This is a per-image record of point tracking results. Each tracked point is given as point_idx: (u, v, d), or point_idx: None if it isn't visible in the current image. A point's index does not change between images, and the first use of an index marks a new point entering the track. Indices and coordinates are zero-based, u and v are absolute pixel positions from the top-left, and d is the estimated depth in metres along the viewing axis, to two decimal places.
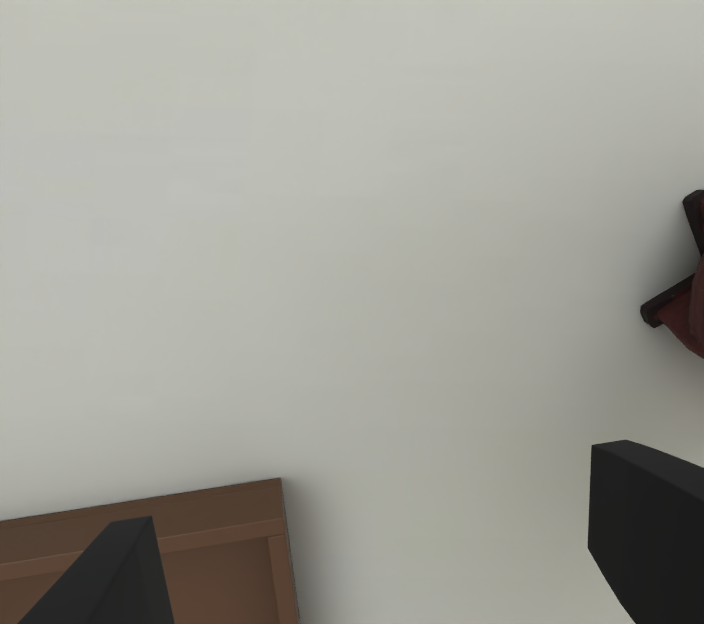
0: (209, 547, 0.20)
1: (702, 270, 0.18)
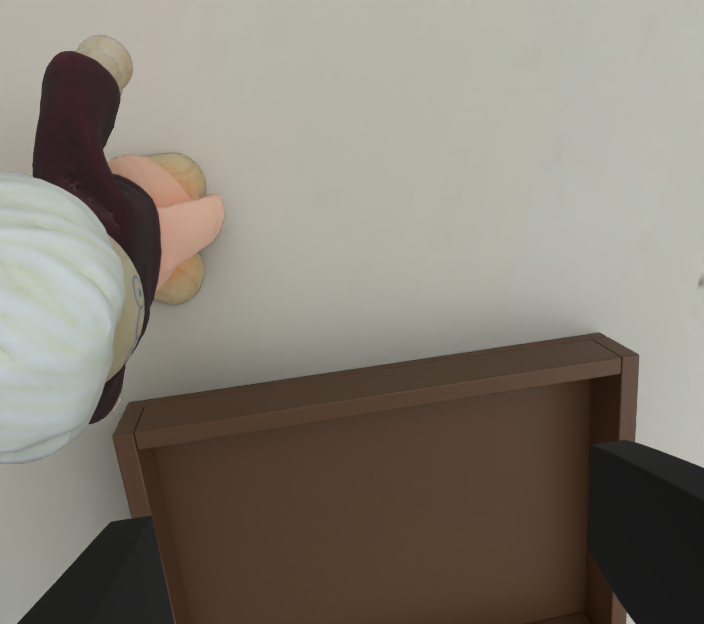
0: (553, 574, 0.23)
1: None
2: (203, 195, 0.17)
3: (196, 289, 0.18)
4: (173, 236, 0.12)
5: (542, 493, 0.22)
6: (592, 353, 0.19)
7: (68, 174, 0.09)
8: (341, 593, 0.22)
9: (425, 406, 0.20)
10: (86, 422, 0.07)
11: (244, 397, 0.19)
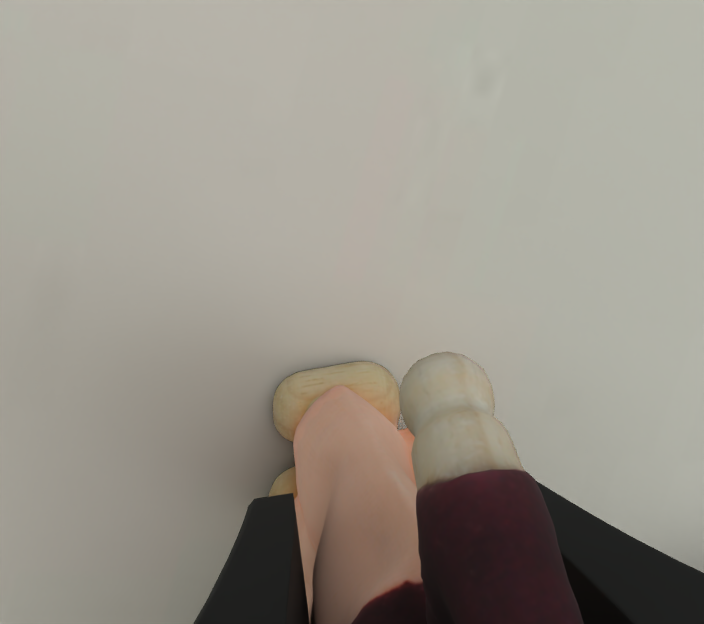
0: None
1: None
2: (399, 415, 0.13)
3: None
4: None
5: None
6: None
7: None
8: None
9: None
10: None
11: None
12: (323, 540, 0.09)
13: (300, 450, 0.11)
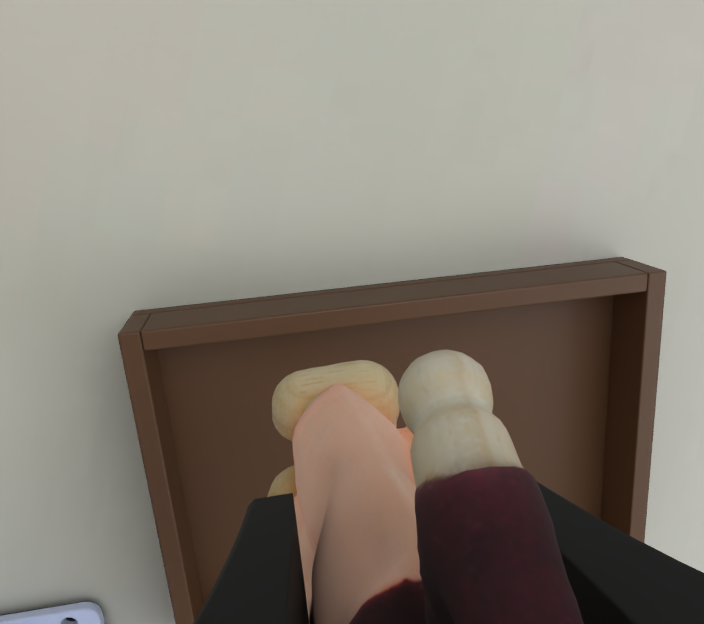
0: None
1: None
2: (398, 413, 0.13)
3: None
4: None
5: (559, 425, 0.21)
6: (617, 270, 0.19)
7: None
8: None
9: (441, 326, 0.19)
10: None
11: (255, 305, 0.18)
12: (322, 539, 0.09)
13: (299, 449, 0.11)
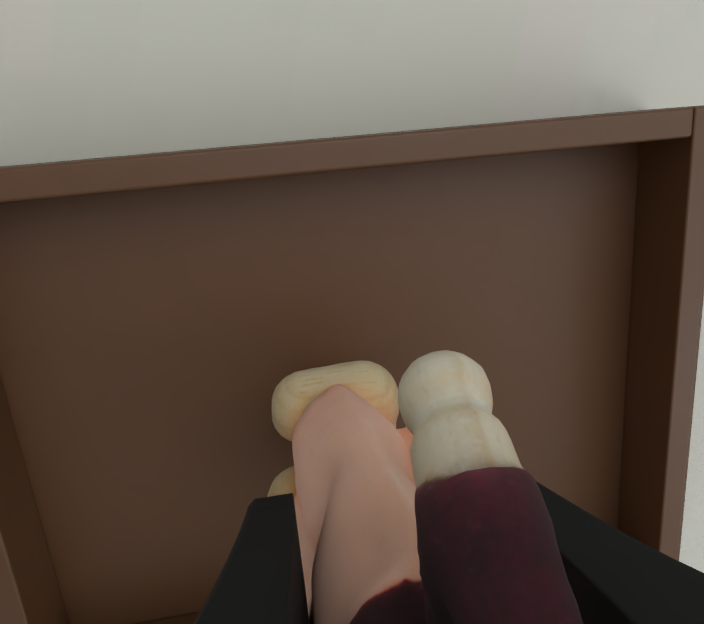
0: (574, 480, 0.16)
1: None
2: (398, 414, 0.13)
3: None
4: None
5: (562, 355, 0.15)
6: (646, 110, 0.12)
7: None
8: None
9: (391, 204, 0.13)
10: None
11: None
12: (322, 539, 0.09)
13: (299, 450, 0.11)
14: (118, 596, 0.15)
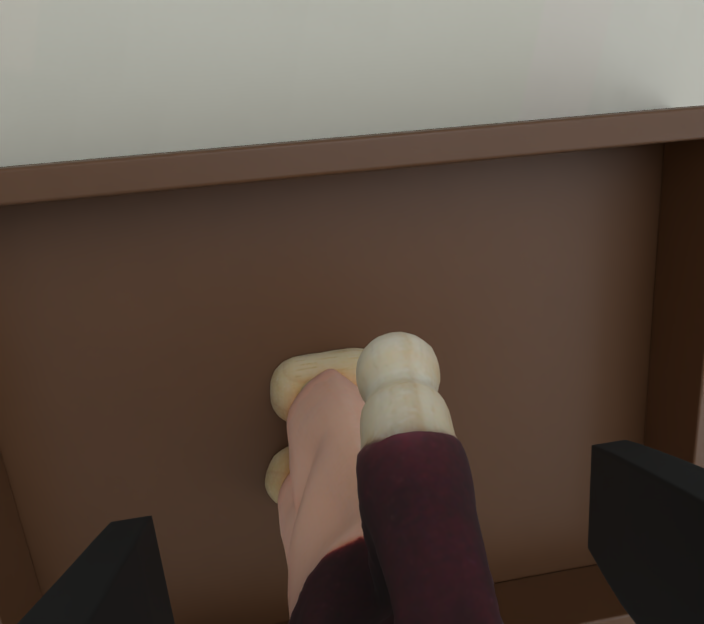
0: None
1: None
2: None
3: None
4: None
5: (579, 368, 0.14)
6: (674, 108, 0.12)
7: None
8: (270, 517, 0.14)
9: (399, 209, 0.13)
10: None
11: (89, 159, 0.11)
12: (300, 506, 0.09)
13: (290, 428, 0.12)
14: None
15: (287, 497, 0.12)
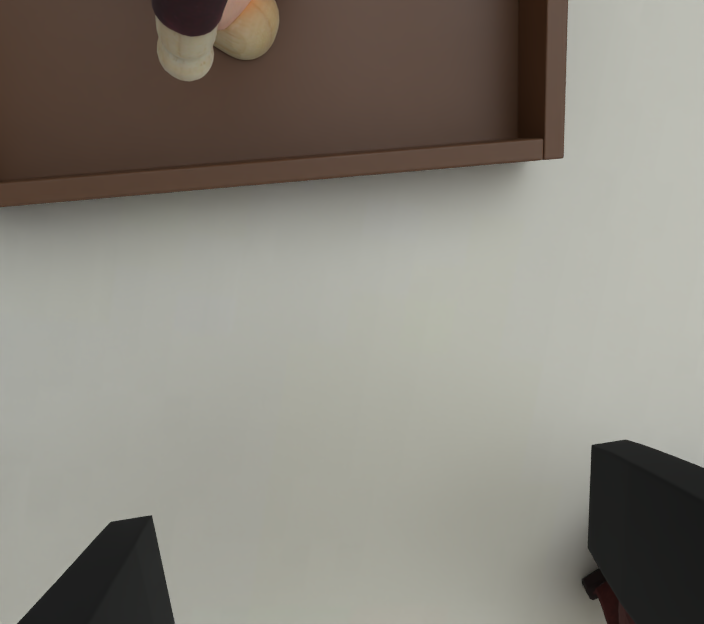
0: (474, 68, 0.17)
1: None
2: None
3: (270, 39, 0.16)
4: None
5: None
6: None
7: None
8: None
9: None
10: None
11: None
12: None
13: None
14: (40, 142, 0.16)
15: None
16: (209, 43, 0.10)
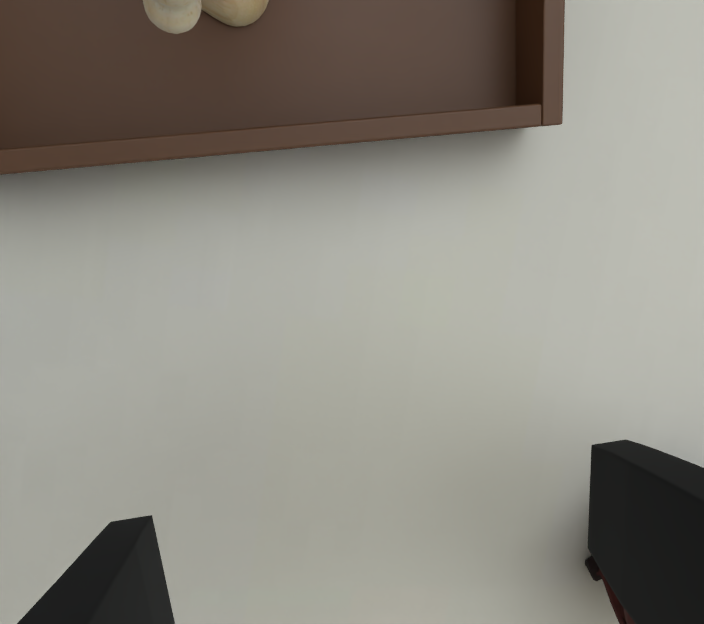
0: (470, 34, 0.17)
1: None
2: None
3: (263, 5, 0.16)
4: None
5: None
6: None
7: None
8: None
9: None
10: None
11: None
12: None
13: None
14: (30, 112, 0.16)
15: None
16: None
